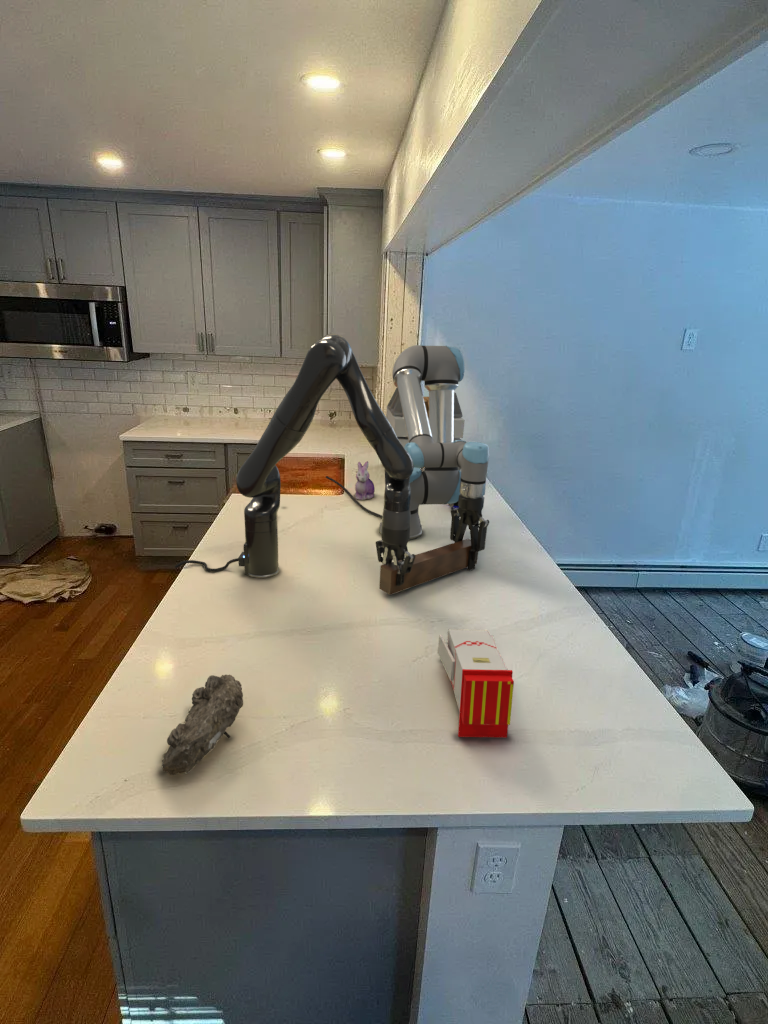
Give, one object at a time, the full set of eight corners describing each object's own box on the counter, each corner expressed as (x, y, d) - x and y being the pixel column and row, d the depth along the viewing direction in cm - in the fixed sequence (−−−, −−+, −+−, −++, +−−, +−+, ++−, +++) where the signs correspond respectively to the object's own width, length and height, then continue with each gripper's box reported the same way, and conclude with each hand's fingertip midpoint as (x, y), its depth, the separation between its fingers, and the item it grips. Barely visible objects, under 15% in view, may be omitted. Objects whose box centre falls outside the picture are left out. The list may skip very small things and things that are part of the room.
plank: (389, 595, 153) (391, 571, 151) (379, 588, 157) (380, 565, 154) (476, 563, 176) (479, 542, 174) (465, 558, 179) (468, 538, 177)
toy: (488, 613, 130) (523, 677, 101) (484, 667, 133) (517, 744, 104) (435, 612, 130) (455, 676, 101) (432, 666, 133) (451, 743, 103)
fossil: (189, 675, 113) (243, 642, 108) (223, 706, 116) (276, 676, 111) (136, 768, 93) (198, 733, 88) (177, 802, 96) (240, 771, 91)
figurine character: (465, 515, 224) (460, 499, 237) (467, 498, 221) (462, 483, 234) (448, 515, 224) (444, 499, 237) (450, 498, 220) (445, 482, 234)
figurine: (359, 501, 230) (360, 466, 225) (349, 494, 239) (349, 459, 234) (379, 499, 235) (381, 464, 230) (369, 491, 243) (370, 458, 238)
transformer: (382, 463, 289) (386, 382, 275) (445, 464, 293) (451, 384, 279) (390, 482, 257) (394, 392, 243) (460, 483, 261) (468, 394, 247)
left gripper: (368, 518, 153) (366, 575, 159) (403, 535, 143) (400, 595, 149) (389, 513, 158) (386, 569, 164) (425, 528, 148) (421, 587, 153)
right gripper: (441, 489, 172) (436, 559, 180) (486, 505, 160) (478, 579, 168) (458, 485, 177) (452, 554, 185) (503, 500, 164) (494, 573, 172)
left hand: (393, 581), depth 156 cm, fingers closed on plank, 4 cm apart
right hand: (464, 566), depth 176 cm, fingers closed on plank, 4 cm apart
